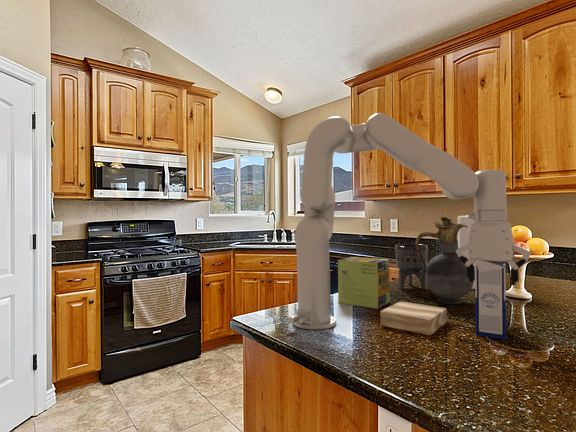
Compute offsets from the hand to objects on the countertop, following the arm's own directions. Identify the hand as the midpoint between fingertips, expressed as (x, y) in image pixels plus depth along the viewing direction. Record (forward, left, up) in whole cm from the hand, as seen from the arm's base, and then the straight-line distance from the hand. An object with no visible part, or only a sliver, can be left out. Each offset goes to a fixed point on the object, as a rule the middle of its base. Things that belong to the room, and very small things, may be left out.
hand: (492, 282), depth 95 cm
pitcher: (+27, +20, -14) cm, 36 cm away
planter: (+43, +38, -14) cm, 59 cm away
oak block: (-4, +19, -13) cm, 24 cm away
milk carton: (0, 0, -14) cm, 14 cm away
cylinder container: (+59, +19, -14) cm, 63 cm away
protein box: (+9, +42, -14) cm, 45 cm away
